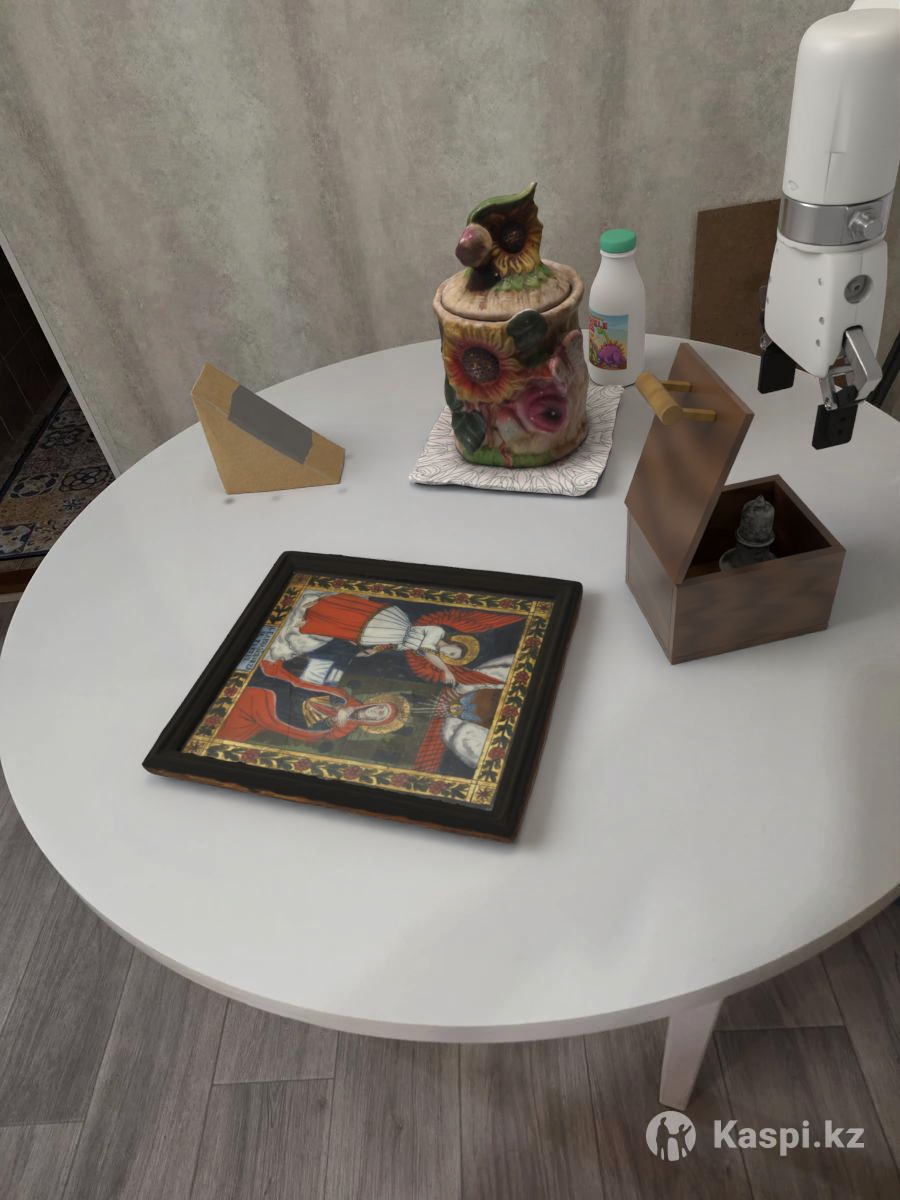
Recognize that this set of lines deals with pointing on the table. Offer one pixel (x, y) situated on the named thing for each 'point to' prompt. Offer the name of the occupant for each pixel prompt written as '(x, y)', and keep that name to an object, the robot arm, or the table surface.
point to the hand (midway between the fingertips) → (801, 415)
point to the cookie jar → (515, 365)
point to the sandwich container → (260, 439)
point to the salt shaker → (752, 536)
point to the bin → (739, 579)
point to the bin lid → (685, 457)
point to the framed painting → (381, 692)
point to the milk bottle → (617, 313)
